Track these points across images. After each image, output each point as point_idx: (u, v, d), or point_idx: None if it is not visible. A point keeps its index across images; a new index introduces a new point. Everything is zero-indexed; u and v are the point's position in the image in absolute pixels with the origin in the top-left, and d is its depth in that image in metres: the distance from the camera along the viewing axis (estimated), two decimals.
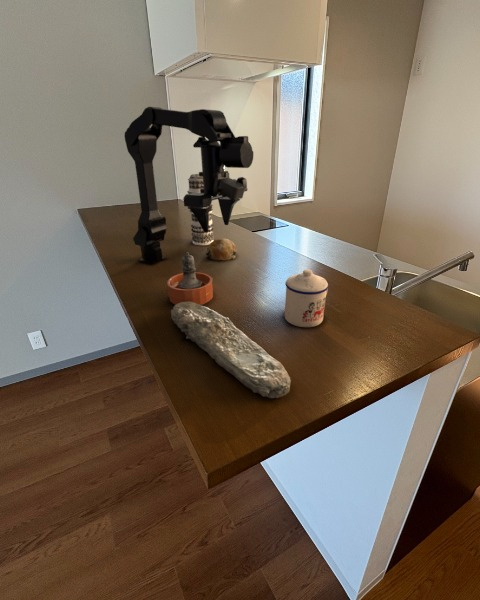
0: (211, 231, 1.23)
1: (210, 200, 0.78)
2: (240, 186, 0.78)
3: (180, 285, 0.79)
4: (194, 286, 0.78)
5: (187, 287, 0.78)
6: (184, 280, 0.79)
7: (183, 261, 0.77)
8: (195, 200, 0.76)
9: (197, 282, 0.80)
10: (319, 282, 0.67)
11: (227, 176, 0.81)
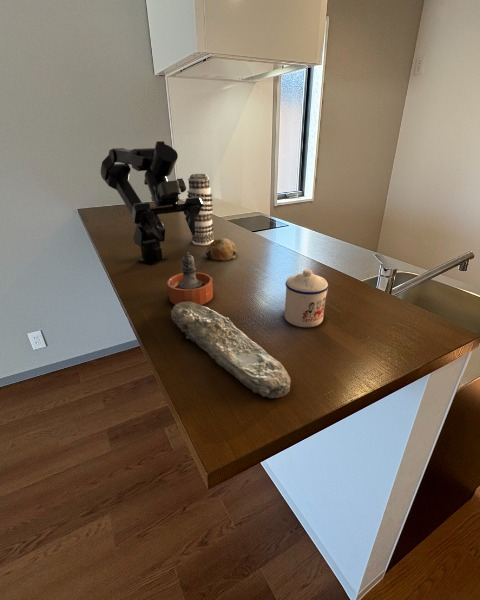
0: (211, 231, 1.23)
1: (148, 205, 0.82)
2: None
3: (180, 285, 0.79)
4: (194, 286, 0.78)
5: (187, 287, 0.78)
6: (184, 280, 0.79)
7: (183, 261, 0.77)
8: (133, 209, 0.82)
9: (197, 282, 0.80)
10: (319, 282, 0.67)
11: None
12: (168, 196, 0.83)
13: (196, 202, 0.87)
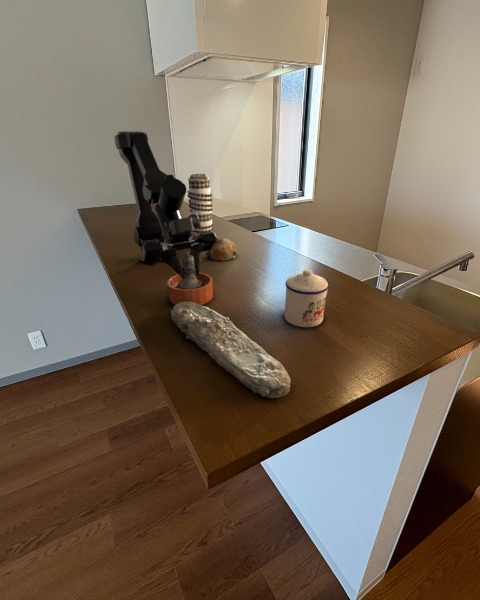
0: (211, 231, 1.23)
1: (158, 244, 0.75)
2: None
3: (180, 285, 0.79)
4: (194, 286, 0.78)
5: (187, 287, 0.78)
6: (184, 280, 0.79)
7: (183, 261, 0.77)
8: (143, 249, 0.75)
9: (197, 282, 0.80)
10: (319, 282, 0.67)
11: None
12: (180, 233, 0.77)
13: (210, 238, 0.80)
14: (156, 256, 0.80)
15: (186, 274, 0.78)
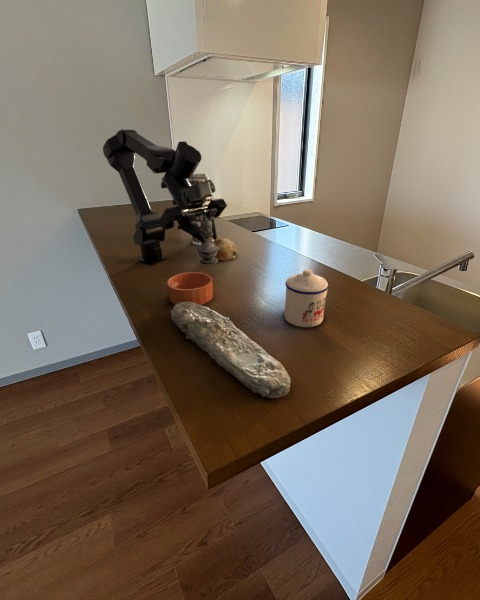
0: None
1: (179, 209, 0.77)
2: None
3: (199, 250, 0.82)
4: (214, 249, 0.82)
5: (208, 251, 0.82)
6: (203, 244, 0.82)
7: (203, 225, 0.80)
8: (164, 215, 0.76)
9: (215, 246, 0.84)
10: (319, 282, 0.67)
11: None
12: (197, 199, 0.80)
13: (222, 204, 0.85)
14: (172, 223, 0.81)
15: (206, 238, 0.81)
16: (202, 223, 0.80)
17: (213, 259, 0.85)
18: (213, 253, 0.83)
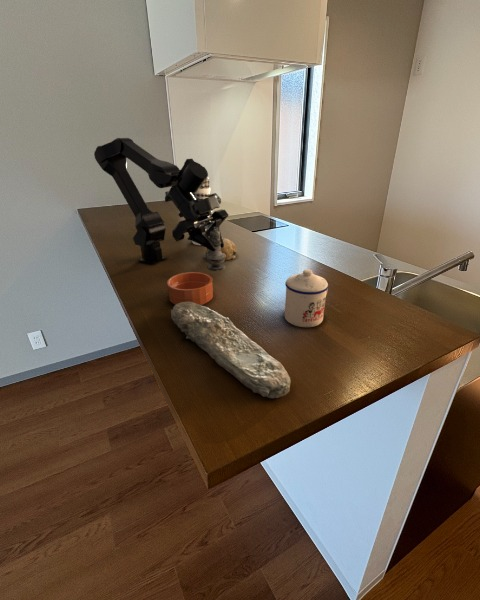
0: None
1: (192, 221, 0.83)
2: (210, 197, 0.84)
3: (209, 258, 0.89)
4: (222, 257, 0.89)
5: (217, 258, 0.88)
6: (212, 253, 0.89)
7: (212, 235, 0.87)
8: (179, 227, 0.81)
9: (222, 253, 0.91)
10: (319, 282, 0.67)
11: None
12: (205, 211, 0.86)
13: (224, 214, 0.92)
14: (183, 235, 0.86)
15: (215, 247, 0.88)
16: (212, 233, 0.86)
17: (221, 265, 0.92)
18: (222, 260, 0.90)
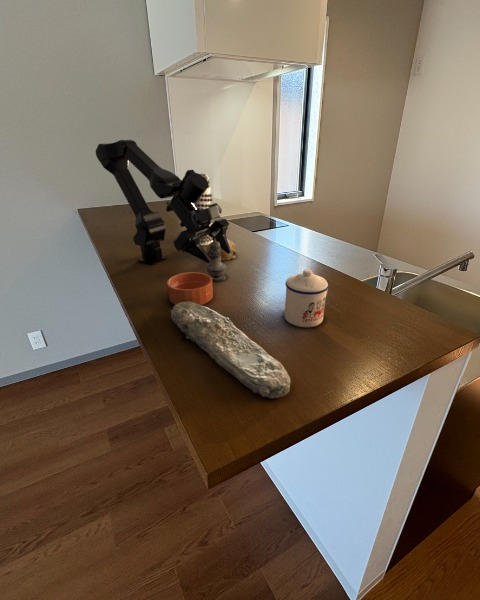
0: None
1: (193, 231, 0.84)
2: (211, 207, 0.85)
3: (210, 269, 0.90)
4: (223, 267, 0.91)
5: (218, 269, 0.90)
6: (213, 264, 0.90)
7: (213, 247, 0.88)
8: (180, 237, 0.83)
9: (222, 264, 0.92)
10: (319, 282, 0.67)
11: None
12: (206, 221, 0.87)
13: (225, 223, 0.93)
14: None
15: (215, 258, 0.89)
16: (212, 245, 0.88)
17: (221, 276, 0.94)
18: (222, 271, 0.91)
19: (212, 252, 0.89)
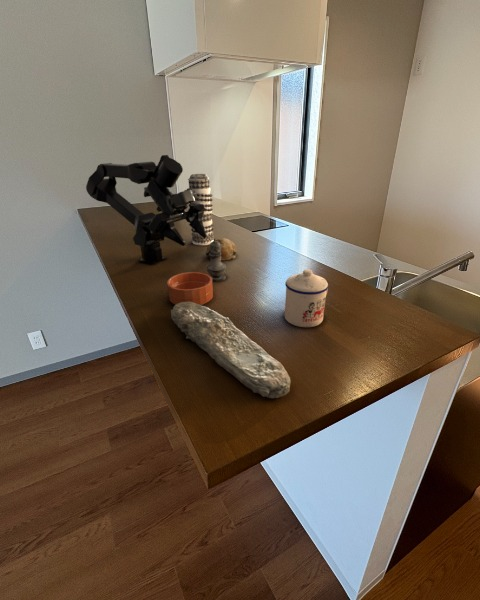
0: (211, 231, 1.23)
1: (167, 214, 0.87)
2: (185, 191, 0.88)
3: (210, 269, 0.90)
4: (223, 267, 0.91)
5: (218, 269, 0.90)
6: (213, 264, 0.90)
7: (213, 247, 0.88)
8: (155, 220, 0.85)
9: (222, 264, 0.92)
10: (319, 282, 0.67)
11: None
12: (181, 205, 0.90)
13: (201, 208, 0.96)
14: None
15: (215, 258, 0.89)
16: (212, 245, 0.88)
17: (221, 276, 0.94)
18: (222, 271, 0.91)
19: (212, 252, 0.89)
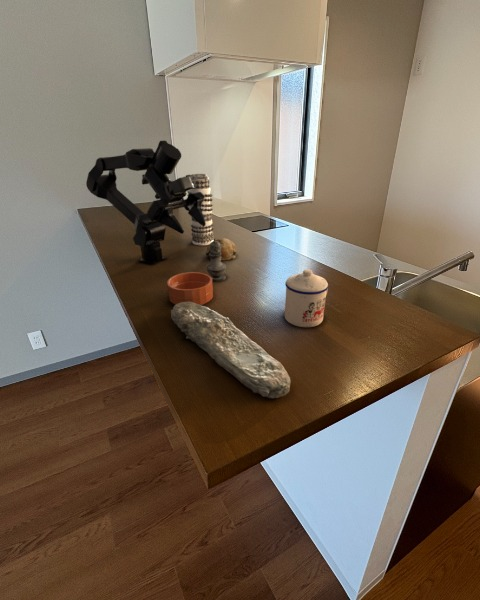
0: (211, 231, 1.23)
1: (166, 201, 0.85)
2: None
3: (210, 269, 0.90)
4: (223, 267, 0.91)
5: (218, 269, 0.90)
6: (213, 264, 0.90)
7: (213, 247, 0.88)
8: (153, 207, 0.84)
9: (222, 264, 0.92)
10: (319, 282, 0.67)
11: None
12: (180, 192, 0.89)
13: (200, 196, 0.95)
14: None
15: (215, 258, 0.89)
16: (212, 245, 0.88)
17: (221, 276, 0.94)
18: (222, 271, 0.91)
19: (212, 252, 0.89)
